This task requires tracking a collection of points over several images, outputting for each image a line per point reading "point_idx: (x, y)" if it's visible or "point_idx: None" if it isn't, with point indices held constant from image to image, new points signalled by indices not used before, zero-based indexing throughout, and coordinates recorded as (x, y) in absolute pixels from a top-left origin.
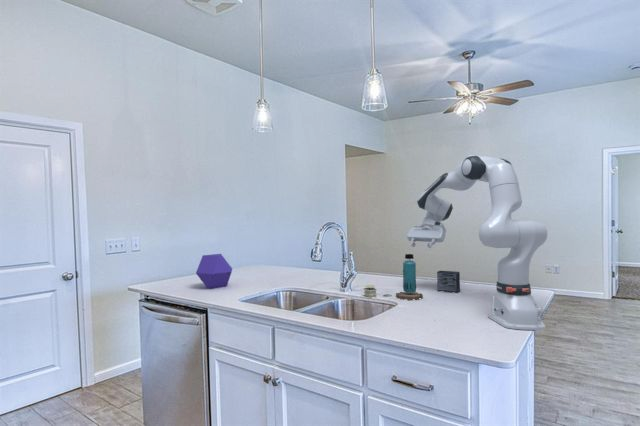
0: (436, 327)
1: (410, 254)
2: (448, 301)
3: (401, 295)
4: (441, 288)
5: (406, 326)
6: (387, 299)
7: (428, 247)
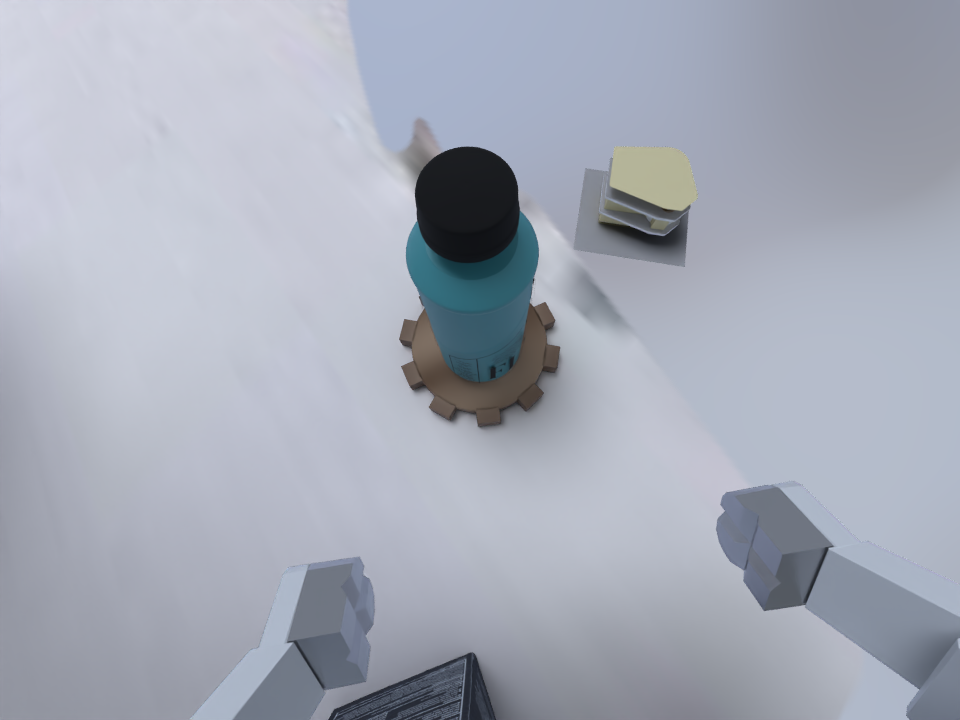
0: (119, 74)
1: (440, 181)
2: (263, 435)
3: None
4: (441, 672)
5: (205, 20)
6: None
7: (364, 587)
